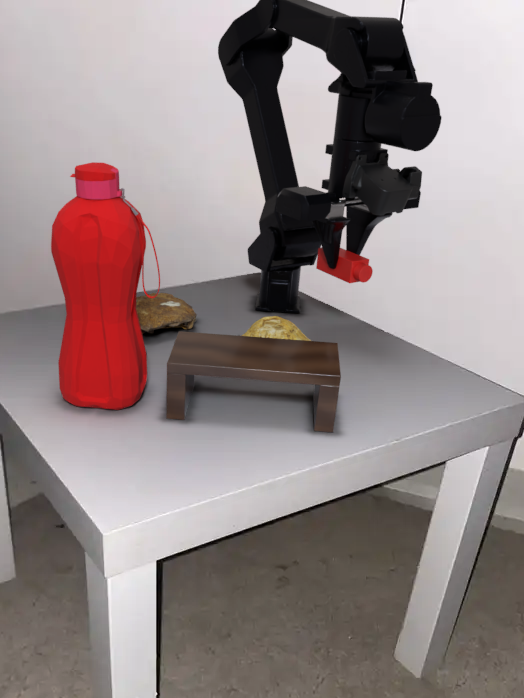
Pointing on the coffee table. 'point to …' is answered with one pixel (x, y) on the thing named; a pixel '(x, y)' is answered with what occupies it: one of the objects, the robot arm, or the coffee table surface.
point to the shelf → (254, 368)
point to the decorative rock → (163, 312)
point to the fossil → (275, 329)
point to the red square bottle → (346, 266)
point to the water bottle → (100, 291)
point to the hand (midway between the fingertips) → (341, 266)
